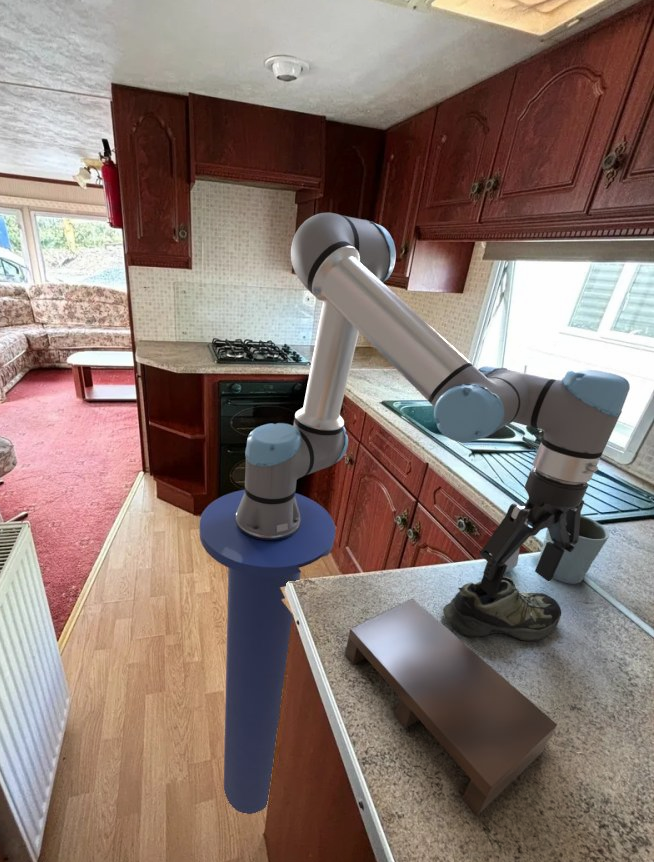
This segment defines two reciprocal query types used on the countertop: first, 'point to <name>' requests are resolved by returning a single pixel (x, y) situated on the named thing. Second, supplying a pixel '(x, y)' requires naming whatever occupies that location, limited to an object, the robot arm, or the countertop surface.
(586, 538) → the embossed plant pot
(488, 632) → the hiking shoe
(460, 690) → the shoe shelf
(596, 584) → the countertop surface
